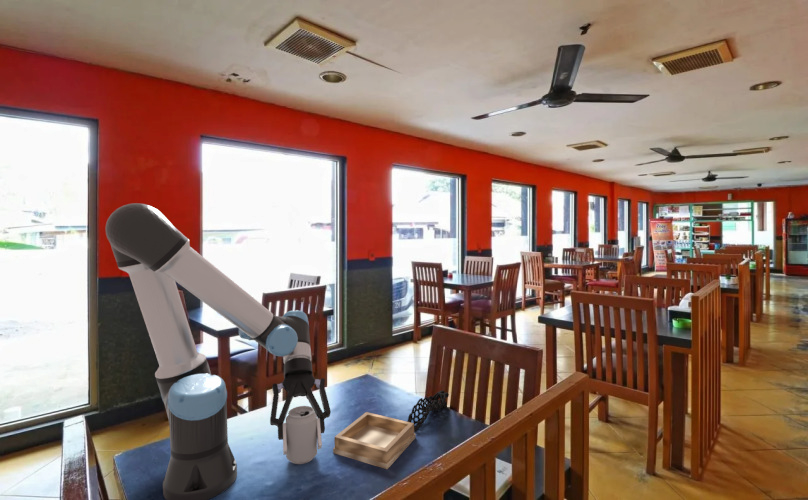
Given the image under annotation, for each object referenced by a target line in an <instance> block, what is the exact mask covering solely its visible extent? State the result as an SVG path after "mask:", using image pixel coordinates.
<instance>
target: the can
mask: <svg viewBox="0 0 808 500" xmlns="http://www.w3.org/2000/svg"><path fill="white" fill-rule="evenodd" d="M287 414H288V415H286V417H285V423H286V439H287V454H286V455H285V457H286V459H287V460H288V462H290V463H292V464H294V465H303V464H307V463H309V462H311V461H312V460H314V458H316V457H317V454H318V443H317V415H316V413H315V412H314V409H313V408H312V406H308V405H299V406H296V407H293V408H292V409H290V410H288V412H287Z"/></svg>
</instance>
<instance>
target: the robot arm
mask: <svg viewBox="0 0 808 500" xmlns="http://www.w3.org/2000/svg"><path fill="white" fill-rule="evenodd" d="M105 235H106V239H107V240H108V242H109V244H110V246H111V250H112V253H113V256H114V258H115V262H116V266H117V268H118V269H119V270H120V271H123V272H125V273H127V274H128V276H129V279H130V281H131V284H132V287H133V290H134V293H135V297H136V299H137V302H138V306H139V308H140V312H141V314H142V315H141V316H142V318H143V320H144V323H145V326H146V330H147V333H148V336H149V338H150V342H151V344H152V347H153V350H154V353H155V356H156V359H157V363H158V365H159V366H158V368H157V370H156V371H155V373H154V377H155V379H156V380H155V381H156V382H157V386H158V388H159V392H160V397H161V399H162V402H163V404H164V407H165V411H166V414H167V418H168V427H169V445H170V457H169V462H168V465H167V468H166V472H165V476H164V478H163V481H162V495H163V497H164V499H165V500H209V499H210V500H211V499H212V498H214V497H217V496H219V495H220V494H222V493H223V492H225V491H226V490H228V489H229V488H230V487H231V486H232V485H233V484H234V482H235V481H236V479H237V475H238V465H237V460H236V459H235V456H234V454H233V452H232V450H231V447H230V445H229V439H228V437H229V436H228V435H229V434H228V413H227V412H228V408H227V399H228V391H227V388H226V382H225V381H224V379H223V378H222V377H221V376H219V375H216V374H212V373H211V370H210V369H211V368H210V365H209V362H208V359H207V356H206V355H205V354H203V353H201V352H198V351H197V350H198V349H197V347H196V344H195V340H194V336H193V334H192V331H191V328H190V324H189V322H188V318H187V315H186V311H185V309H184V305H183V302H182V298H181V296H180V292H179V289H178V286H177V284H178V285H180V286H181V287H182V288H184V289H186V290H187V291H188V292H189V293H190V294H192V295H193V296H195V297H196V298H197V299H198V300H200V301H201V302H203V303H204V304H206V305H207V306H208V307H210V309H212V310H213V311H215V312H216V313H217V314H219V315H220V316H222V317H223V318H224V319H225V320H227V321H228V322H230V323H231V324H233V326H235V327H236V328H238V336H239V337H240V338H241V339H243V340H248V341H255V342H256V343H258V344H259V345H260V346H262V347H263V348H264V349H265V350H267V352H268V353H270V354H272V355H274V356H275V357H276V356H277V357H283V364H284V365H283V380H282V382H281V383H273V384H272V386H271V387H272V393H273V397H272V403H271V409H270V410H271V411H270V418H269V419H270V420H269V423H270V425H271V426H276V427H277V439H278V440H282V448H283V449H282V451H283V455H285V456H286V454H287V439H286V422H285V421H286V417H287V416H288V415H287V414H288V413H289V408H290V406H291V403H292V401H293V399H294V398H299V397H305V398H306V399H307V401H308V402H309V404H310V407H312V408H313V409H314V412H315V413H316V415H317V450H320V449H322V447H323V442H322V434H325V430H326V426H325V425H326V424H325V419H327V418H329V417H330V415H331V413H332V412H331V411H332V410H331V408H330V403H329V399H328V395H327V392H326V391H327V390H326V388H325V383H326V380H325V378H324V377H322V378H320V379H319V378H315V377H314V374H313V363H312V350H311V338H310V324H309V318H308V315H307V314H306V313H305V312H304V311H301V310H298V309H296V310H289V311H287V312H285V313H283V315H282V316H279V315H275V314H274V313H273V312H272V311H270V310H269V309H268V308H266V307H265V306H264V305H263V304H262V303H261V302H259V301H258V300H257V299H255V298H254V297H253V296H252V295H251V294H249V293H248V292H247V291H246V290H245V289H243V288H242V287H241V286H240V285H238V284H237V283H235V281H234V280H232V279H231V278H230V277H228V276H227V275H226V274H225V273H223V272H222V271H221V270H220V269H218V268H217V267H216V266H215V265H214V264H212V263H211V262H210V261H209V260H207V259H206V258H205V257H204V256H203V255H201V254H200V253H199V252H198V251H196V250H195V249H194V248H193V247H191V245H190V239H189V238H188V237H187V236H185V235H184V233H182V232H181V231H180V230H179V229H178V228H177V227H175V226H174V225H173V223H172V222H171V221H170V220H169V219H168V218H167V217H166V216H165V215H164V213H162V212H161V211H160V210H159V209H158V208H155V207H153V206H152V205H149V204H146V203H137V202H136V203H135V202H134V203H133V202H132V203H128V204H124V205H122V206H120V207H118V208H116V209H115V210H114V211H113V212H112V213H111V214H110V216H109V217H108V218H107V220H106V224H105ZM314 385H315V386H316V388H317V389H318V391H319V396H320V397H319V398H320V400H321V403H322V404H321V405H322V408H323V410H322V409H321V406H320V404H319V402H318V401H317V399H316V397H315V395H314V392H313V391H312V389H313V387H314ZM282 389H284V390H285V392H287V395H286V397H285V401H284V403H283V406H282V409H281V410H280V414H279V417H278V418H277V413H278V405H279V397H280V395H279V394H280V393H282Z"/></svg>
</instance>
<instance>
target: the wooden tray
mask: <svg viewBox="0 0 808 500" xmlns="http://www.w3.org/2000/svg"><path fill="white" fill-rule="evenodd" d="M415 439H416V433H415V432H414V422H412V421H411V422H407V421H406V420H401V419H398V418H394V417H390V416H385V415H380V414H377V413H372V412H369V411H366V412H364V413H363V414H362V415H360V416H359V417H358V418H357V419H355V420H354V421H353V422H352V423H351V424H349V425H348V426H346V427H345V428H344V429H342V430H341V431H340V432H339V433H337V434H336V435H335V436H334V447H333V449H332V453H333V454H335V455H338V456H341V457H346V458H348V459H349V458H350V459H352V460H355V461H358V462H362V463H365V464H369V465H372V466H375V467H379V468H381V469H385V470H388V469H389V468H390V467H391V466H392V465H393V464H394V462H396V460H397V459H398V458H399V457H400V456H401V454H403V452H405V451H406V449H407V448H408V447H409V446H410V445H411V444H412V442H413V441H414V440H415Z"/></svg>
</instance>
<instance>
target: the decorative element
mask: <svg viewBox="0 0 808 500" xmlns="http://www.w3.org/2000/svg"><path fill="white" fill-rule="evenodd" d="M449 395H450V394H449V392H445V391H444V390H443V389H441V390H440V391H437V392H436V393H435V394H434V395H429V396H428V397H427V396H425V397H424V398H419V399H418V401H417V402H416V403H415V405H413V407H412V409H411V413H409V415H408V418H407V421H406V422H411V423H414V433H415V432H417V431H418V430H419V429H420V428H421V427H422V426H423V424H424V422H425V421H426V420H427V418H428V417H429V414H430V412H434V411H438V410H440V409H442V408H447V405H448V402H447V401H446V399H447V398H448V397H450V396H449ZM420 411H421V412H420ZM416 412H417V413H416ZM416 414H417V415H416ZM421 415H422V417H420V416H421ZM416 418H417V420H416Z"/></svg>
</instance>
